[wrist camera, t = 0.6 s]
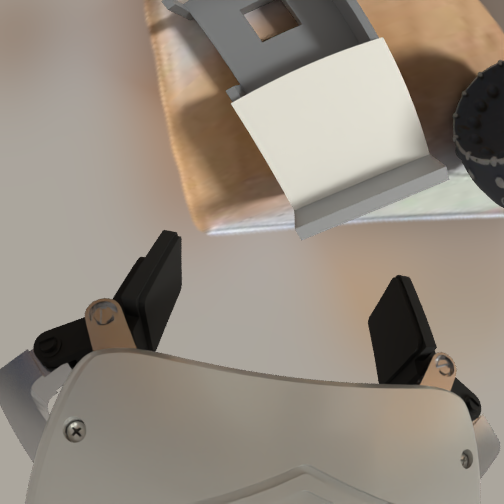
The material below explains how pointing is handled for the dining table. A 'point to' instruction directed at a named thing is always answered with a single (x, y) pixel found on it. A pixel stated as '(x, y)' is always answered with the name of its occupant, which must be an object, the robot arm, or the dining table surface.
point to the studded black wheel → (483, 131)
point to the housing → (281, 46)
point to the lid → (341, 137)
